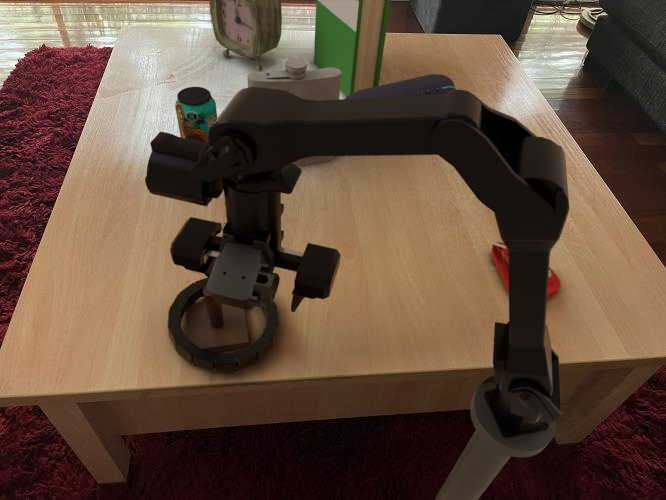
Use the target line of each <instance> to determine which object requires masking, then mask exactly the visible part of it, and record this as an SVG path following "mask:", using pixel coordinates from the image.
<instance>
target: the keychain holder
mask: <svg viewBox="0 0 666 500" xmlns="http://www.w3.org/2000/svg"><path fill="white" fill-rule="evenodd" d="M489 244H490V245H491V257H492V259H493V261H494V264H495V266H496V268H497V271H498V273H499V275H500V277H501V280H502V281H503V284H504V286H505V288H506V291H507V292H508V293H509V266H508V265H509V253H508V249H507V247H506V246H505V244H504V242H503V241H502V240H496V242H495V241H490V242H489ZM505 260H506V262H507V264H508V265H507V264H506V262H505ZM561 286H562V284H561V280H560V278H559V277H558V275H557V274H556V273H555V271H554V270H553V269H552V268H551V267H549V276H548V292H547V298H550V297H553V296H554V295H556V294H557V293H558V292H559V291H560V288H561Z"/></svg>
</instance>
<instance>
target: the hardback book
mask: <svg viewBox="0 0 666 500" xmlns="http://www.w3.org/2000/svg"><path fill="white" fill-rule="evenodd" d="M315 2H316V3H315V22H314V45H313V46H314V47H313V49H314V50H313V64H314V65H315V66H316V67H317V69H322V68H328V67H334V68H338V69H339V70H341V84H340V92H342V93H343V94H344V95H345V96H346V97H347V96H349V95H351V94H353V93H355V92H357V91H359V90H363V89H367V88H371V87H376V86H380V79H381V78H380V77H381V72H382V65H383V64H382V63H383V57H384V51H385V42H386V37H387V36H386V35H387V29H388V28H387V27H388V21H389V15H390V14H389V13H390V7H391V0H315Z"/></svg>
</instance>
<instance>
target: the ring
mask: <svg viewBox="0 0 666 500" xmlns="http://www.w3.org/2000/svg"><path fill="white" fill-rule="evenodd" d="M208 280H209V279H208V277H205V278H202V279H198V280H196V281H194V282H192V283H190V284H189V285H188V286H186V287H185V288H184V289H182V290H181V291H180V292H179V293H178V294H177V295H176V297H174V300H173V302H171V305H170V306H169V309H168V313H167V315H168V316H167V334H168V338H169V339H170V342H171V344H172V346H173V348H174V350H175V352H176V354H178V356H180V357H182V358H183V359H184V360H185V361H187V362H188V364H189V365H192V366H193V367H196V368H199V369H203V370H206V371H210V372H215V373H217V372H218V373H219V372H221V373H222V372H236V371H240V370H242V369H244V368H247V367H249V366H251V365H254V364H256V363H257V362H259V361H260V360H261V359H262V358H264V356H265V355H267V353H268V352H269V351H270V350H271V349H272V348H273V345H274V343H275V341H276V338H277V335H278V332H279V327H280V318H279V307H277V304H276V302H275V300H274V301H273V302H272V303H269V302H264V303H263V305H262V307H259V309H260V311H261V312H262V314H263V316H264V322H265V327H264V329H263V332H262V334H261V335H260V336H259V337H258V338H257V339H256V340H255V341H254V342H252V344H251V345H249V347H245V348H240V349H238V350H236V351H230V352H228V351H227V352H212V351H208V350H205V349H202V348H199V347H198V346H196V345H195V344H194V343H193V342H191V341H190V340H189V339H188V338H187V334H186V333H185V331H184V329H183V327H182V320H183V317H184V316H185V315H186V311H187V309H188V307H189V306H190V305H192V304H193V303H194V302H198V300H199V299H201V298H204V293H203V289H204V287H205V286H207V283H208Z"/></svg>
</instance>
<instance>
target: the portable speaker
mask: <svg viewBox="0 0 666 500" xmlns="http://www.w3.org/2000/svg"><path fill="white" fill-rule="evenodd" d="M453 90H457V89H456V86H455V82H454V81H453V80H452V79H451V78H450V77H449V76H446V75H445V74H439V73H437V74H436V73H429V74H425V75H421V76H420V75H419V76H416V77H412V78H408V79H402V80H398V81H394V82H389V83H385V84H381V85H380V84H379V86H376V87H371V88H367V89H363V90H359V91H357V92H355V93H353V94H351V95H349V96H346V97H345V98H344V99H359V98H379V97H399V96H418V95H438V94H445V93H448V92H449V91H453Z"/></svg>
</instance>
